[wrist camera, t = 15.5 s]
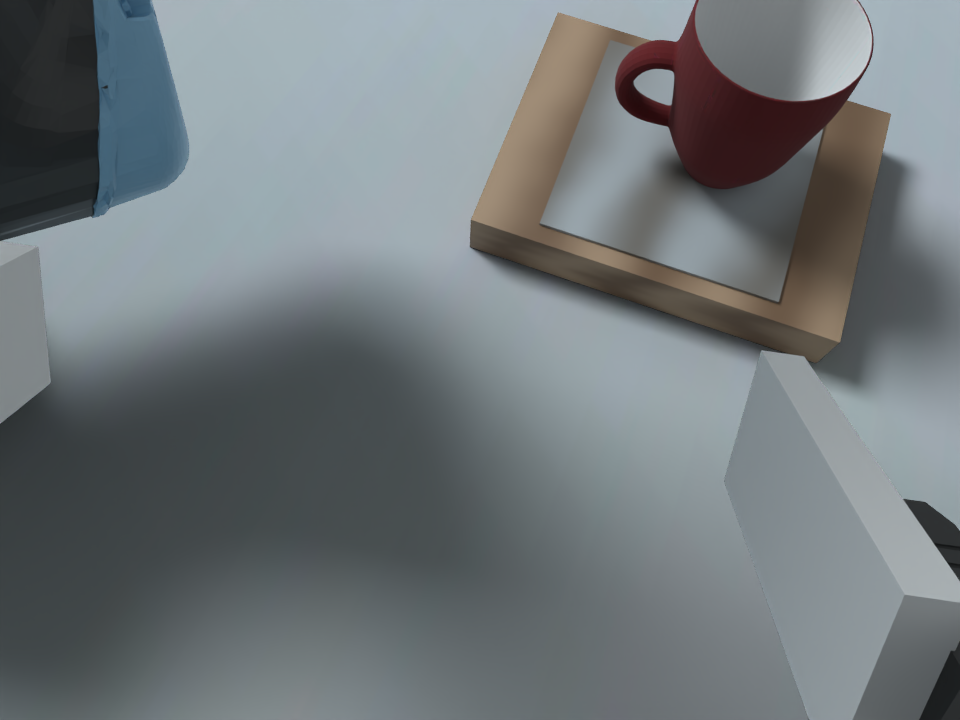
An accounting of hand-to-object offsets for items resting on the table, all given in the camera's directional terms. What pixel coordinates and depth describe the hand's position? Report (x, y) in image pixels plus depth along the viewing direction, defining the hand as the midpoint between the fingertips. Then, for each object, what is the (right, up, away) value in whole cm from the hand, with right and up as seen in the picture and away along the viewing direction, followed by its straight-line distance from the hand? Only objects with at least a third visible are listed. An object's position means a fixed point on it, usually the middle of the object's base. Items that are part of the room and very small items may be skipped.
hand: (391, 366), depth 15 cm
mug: (+13, +11, +31) cm, 36 cm away
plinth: (+13, +10, +34) cm, 38 cm away
